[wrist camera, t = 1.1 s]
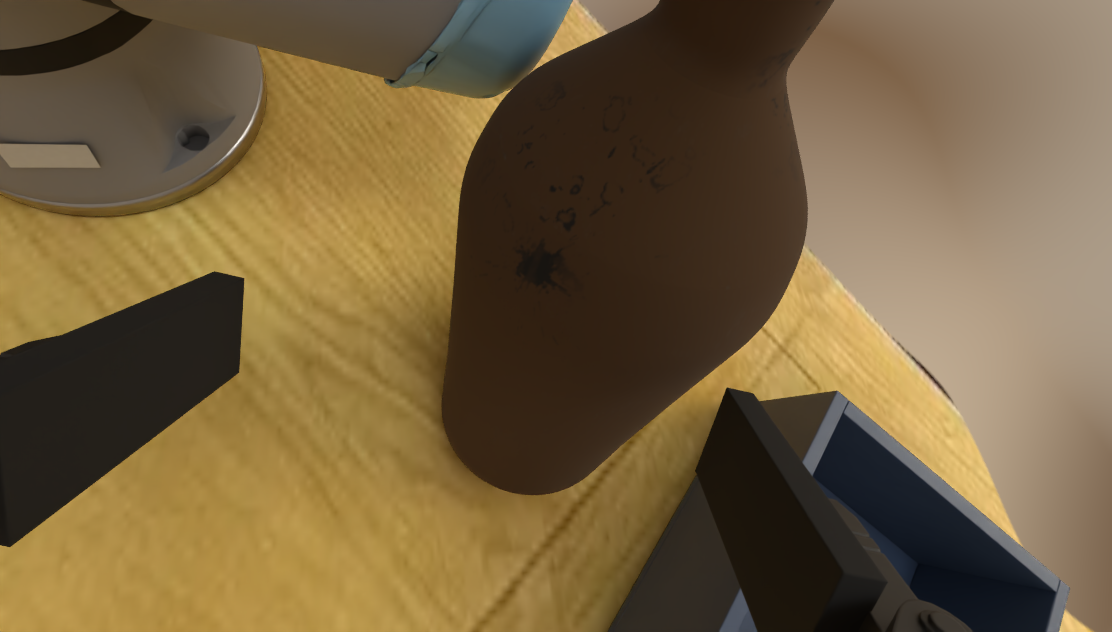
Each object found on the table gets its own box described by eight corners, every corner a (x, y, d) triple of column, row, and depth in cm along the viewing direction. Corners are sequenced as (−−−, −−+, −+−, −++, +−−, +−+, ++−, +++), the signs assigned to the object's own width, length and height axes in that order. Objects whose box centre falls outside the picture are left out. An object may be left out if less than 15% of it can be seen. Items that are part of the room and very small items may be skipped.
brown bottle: (611, 531, 27) (1233, 114, 7) (401, 481, 26) (449, -186, 6) (628, 352, 34) (990, -142, 13) (458, 305, 32) (577, -316, 12)
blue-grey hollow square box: (595, 651, 29) (672, 725, 21) (736, 404, 35) (837, 390, 27) (823, 824, 31) (976, 956, 23) (922, 558, 37) (1071, 588, 29)
